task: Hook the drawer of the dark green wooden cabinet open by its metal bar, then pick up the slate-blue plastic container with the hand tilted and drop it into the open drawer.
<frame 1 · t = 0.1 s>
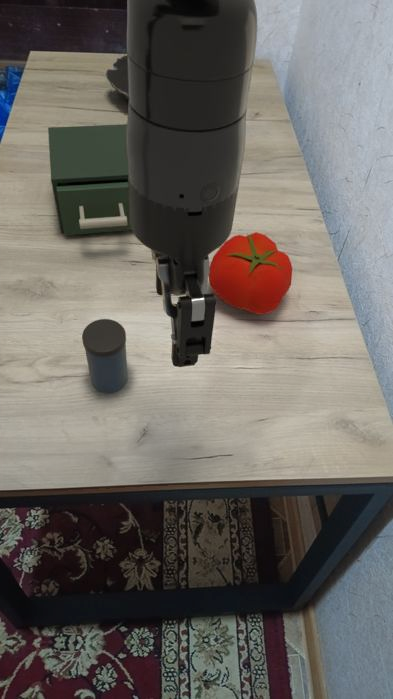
hand: (175, 325, 46), 19 cm above the table, tool pointing down, fingers open, 8 cm apart
rough clay dish: (156, 97, 110), on the table
plastic container: (109, 378, 64), on the table
bottle: (208, 152, 98), on the table
drawer: (98, 194, 79), point 5 cm above the table, slide at 0.5 cm
cabinet: (99, 203, 86), on the table
tomato: (245, 295, 75), on the table
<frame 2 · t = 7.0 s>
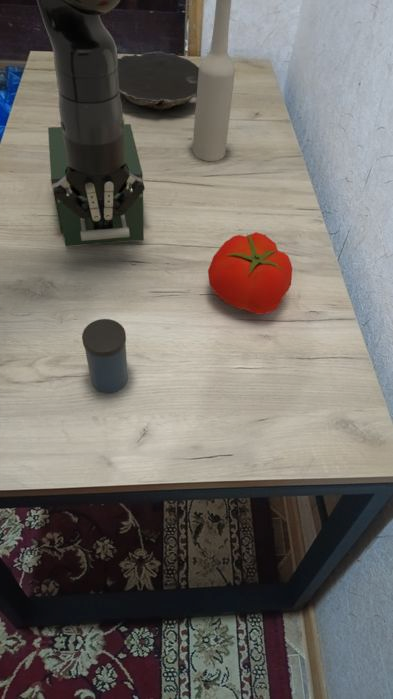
hand: (103, 235, 75), 4 cm above the table, tool pointing down, fingers closed
drawer: (100, 204, 78), point 5 cm above the table, slide at 3.2 cm
everything else where it was.
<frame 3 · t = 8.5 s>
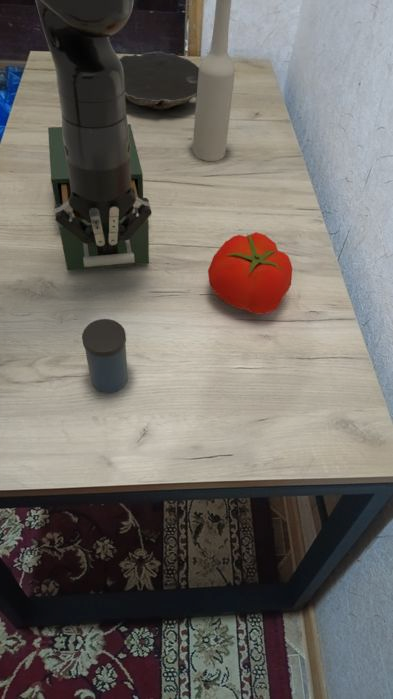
hand: (108, 260, 71), 4 cm above the table, tool pointing down, fingers closed
drawer: (103, 227, 75), point 5 cm above the table, slide at 8.7 cm, touching gripper
everything else where it was.
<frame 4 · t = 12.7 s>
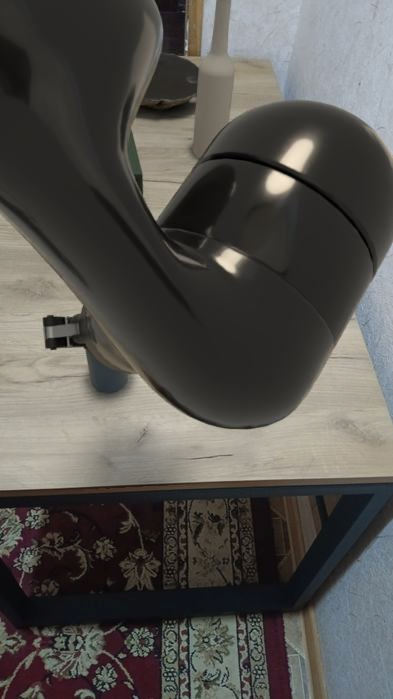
hand: (106, 334, 48), 16 cm above the table, tool tilted 35°, fingers closed
drawer: (103, 227, 74), point 5 cm above the table, slide at 8.8 cm
everything else where it was.
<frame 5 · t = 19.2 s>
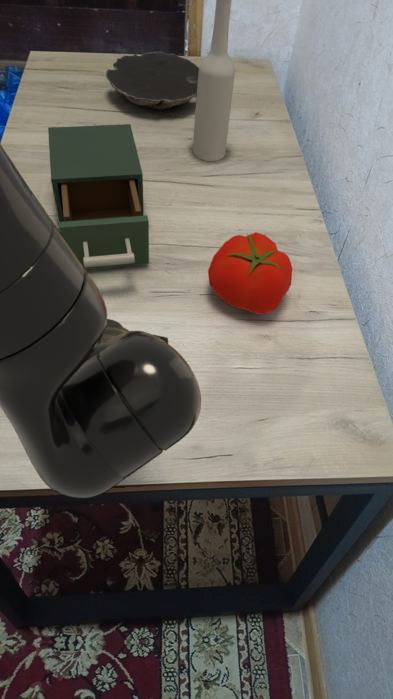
hand: (105, 345, 62), 5 cm above the table, tool tilted 45°, fingers closed on plastic container, 5 cm apart
plastic container: (109, 378, 64), on the table, touching gripper
everything else where it was.
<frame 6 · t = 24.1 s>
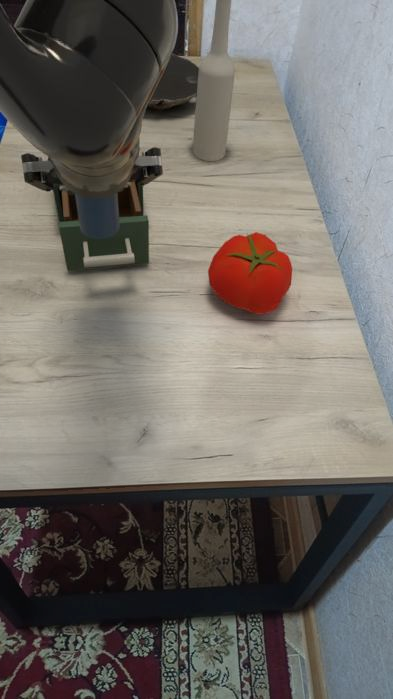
hand: (94, 184, 58), 19 cm above the table, tool tilted 45°, fingers closed on plastic container, 5 cm apart
plastic container: (99, 226, 60), point 14 cm above the table, touching gripper
everything else where it was.
when the fingers open (11 cm above the table, at t = 29.1 s): plastic container drops 4 cm, resting on drawer.
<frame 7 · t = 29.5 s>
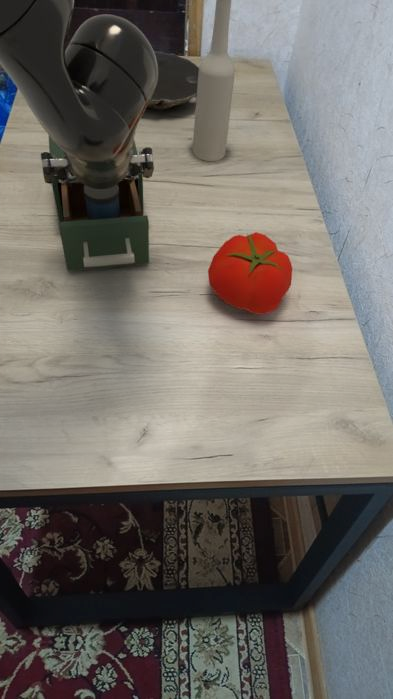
hand: (98, 177, 71), 12 cm above the table, tool tilted 45°, fingers open, 8 cm apart
plastic container: (106, 237, 78), point 2 cm above the table, touching drawer
drawer: (103, 227, 74), point 5 cm above the table, slide at 8.8 cm, touching plastic container
everything else where it was.
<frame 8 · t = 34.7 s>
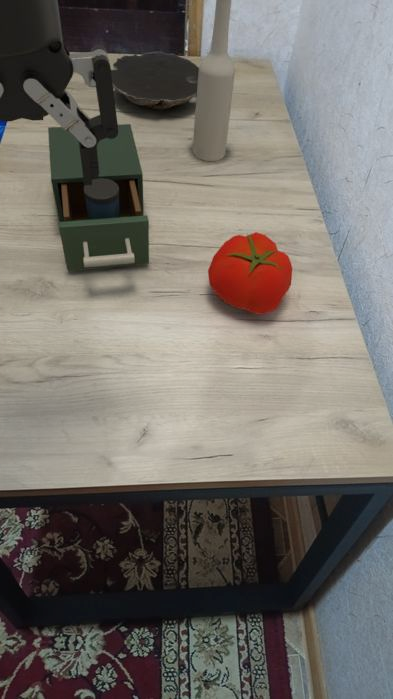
hand: (37, 183, 42), 28 cm above the table, tool pointing down, fingers open, 8 cm apart
nothing on the table moved.
at the end: drawer slide at 8.8 cm; plastic container inside the target area in the drawer (2.6 cm from its centre), point 2.0 cm above the cabinet's base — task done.
